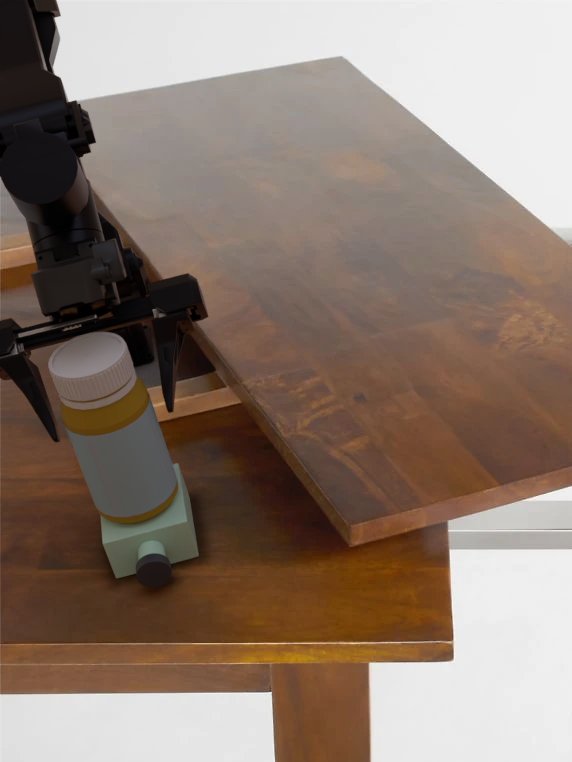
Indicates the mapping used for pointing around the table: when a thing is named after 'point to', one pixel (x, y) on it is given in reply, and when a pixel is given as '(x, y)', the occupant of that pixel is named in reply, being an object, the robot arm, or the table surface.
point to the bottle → (113, 428)
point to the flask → (153, 541)
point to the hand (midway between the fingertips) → (113, 426)
